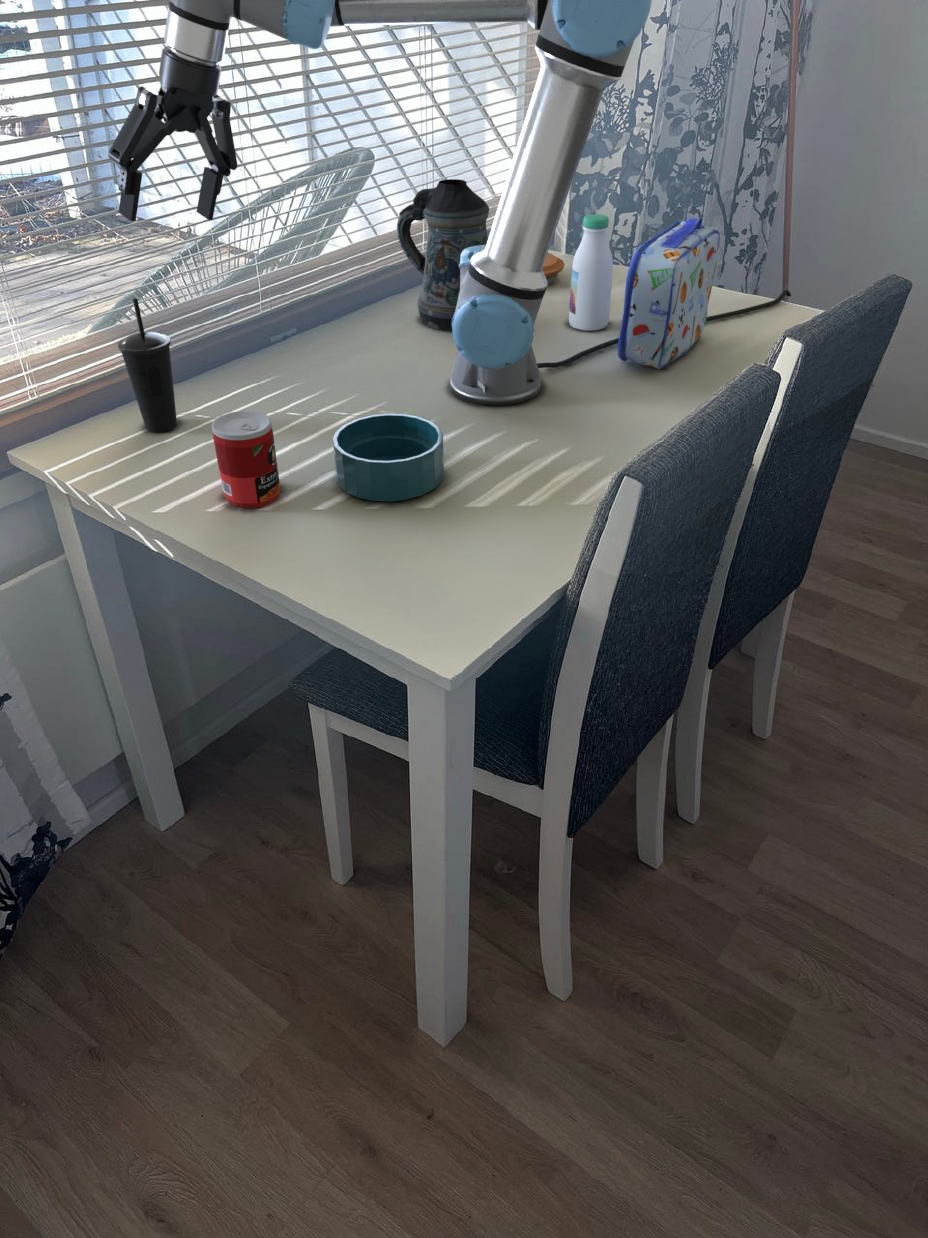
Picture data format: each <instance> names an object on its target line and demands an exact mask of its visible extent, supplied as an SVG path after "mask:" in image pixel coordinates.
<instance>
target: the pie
mask: <svg viewBox="0 0 928 1238" xmlns="http://www.w3.org/2000/svg"><path fill="white" fill-rule="evenodd" d="M565 265H566V264H565V262H564V260H563V259H562V258H560V257H557V256H556V255H555V254H553V253H550V252H548V253H547V256H546V259H545V262H544V265H543V267H542V271H543V273H544V275H545V277H546V280H547V282H548V285H547V286H550V285H552V284H553V283H554V281H556V279H557V277H558V275H559V274H560V273H561V272H562V271H563V270H564V269H565Z"/></svg>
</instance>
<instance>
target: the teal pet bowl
mask: <svg viewBox="0 0 928 1238" xmlns="http://www.w3.org/2000/svg"><path fill="white" fill-rule="evenodd" d="M332 449H333V457H334V468H335V477H336V481H337V485H338V486H339V487H340V488H341V489H342V490H343V491H344V492H345V493H347V494H350V495H351V496H354V497H356V498H359V499H364V500H368V501H373V502H398V501H404V500H405V501H406V500H410V499H413V498H417V497H420V496H424V495H425V494H427V493H429V492H431V491H432V490H434V489H436V488H437V487H438V486H439V485H440V483H441V482H442V481H443V479H444V474H445V458H444V434H443V432H442V430H441V428H440V427H439V426H438V425H437V424H435V423H434V422H433V421H431V420H428V419H425V418H423V417H421V416H417V415H411V414H405V413H381V414H372V415H367V416H363V417H359V418H356V419H353V420H351V421H350V422H347V423H344V424H343V425H342V426H340V428H338V429H337V430H335V433H334V435H333V437H332Z"/></svg>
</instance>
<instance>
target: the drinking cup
mask: <svg viewBox="0 0 928 1238" xmlns="http://www.w3.org/2000/svg"><path fill="white" fill-rule="evenodd" d="M132 304H133V307H134V308H133V309H134V312H135V317H136V321H137V322H136V323H137V327H138V332H134V333H131V334H129V335H128V336H126V337H124V338H122V339H121V340H119V341H118V343H117V348H118V350H119V351H120V352H121V356H122V358H123V362H124V365H125V368H126V372H127V374H128V377H129V380H130V384H131V386H132V389H133V393H134V396H135V399H136V402H137V405H138V409H139V411H140V414H141V418H142V421H143V424H144V426H145V430H146V431H148V432H150V433H165V432H169V431H172V430H173V429H175V428H176V427H177V426H178V420H177V419H178V418H177V409H176V397H175V390H174V380H173V379H174V378H173V369H172V358H171V348H170V346H171V338H170V337H169V336H168V335H166V334H163V333H159V332H155V331H150V330H149V331H148V330H147V331H146V330H145V329H144V328H145V327H144V323H143V318H142V313H141V310H140V305H139V299H138V298H132Z"/></svg>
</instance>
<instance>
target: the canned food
mask: <svg viewBox="0 0 928 1238" xmlns="http://www.w3.org/2000/svg"><path fill="white" fill-rule="evenodd" d="M211 432H212V433H211V434H212V440H213V445H214V450H215V456H216V461H217V466H218V471H219V472H218V473H219V477H220V483H221V487H222V493H223V496H224V498H225V499H226V501H227V502H228V503H229V505H232V506H234V507H237V508H241V509H258V508H262V507H265V506H268V505H270V504H272V503H274V502H275V501H276V500H277V499H278V498H279V497H280V492H281V482H280V476H279V475H280V473H279V467H278V460H277V452H276V444H275V437H274V431H273V423H272V420H271V418H270V417H269V416H268V415H267V414H264V413H261V412H257V411H249V410H246V411H245V410H241V411H233V412H229V413H225V414H222V415H220V416H218V417H217V418H216V419H214V420H213V421H212V423H211Z"/></svg>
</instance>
